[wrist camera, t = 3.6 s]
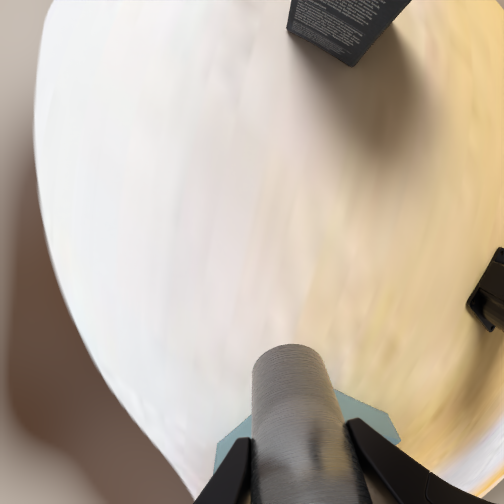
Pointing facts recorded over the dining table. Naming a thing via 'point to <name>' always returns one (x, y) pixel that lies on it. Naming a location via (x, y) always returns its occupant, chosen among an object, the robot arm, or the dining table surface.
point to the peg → (300, 434)
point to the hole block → (349, 411)
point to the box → (343, 24)
